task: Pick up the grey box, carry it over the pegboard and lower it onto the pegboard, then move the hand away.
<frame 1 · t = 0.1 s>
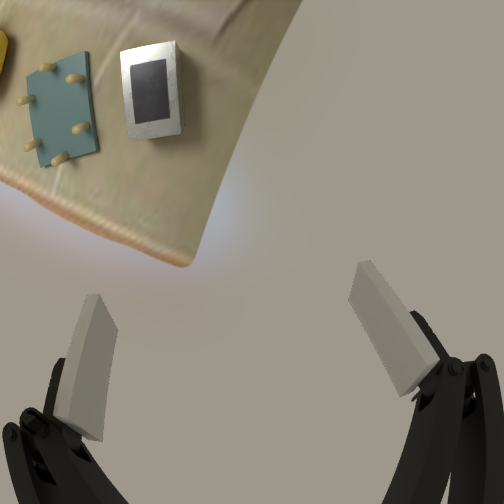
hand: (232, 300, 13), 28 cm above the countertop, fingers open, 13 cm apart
grey box: (159, 90, 29), on the countertop
pegboard: (61, 109, 27), on the countertop
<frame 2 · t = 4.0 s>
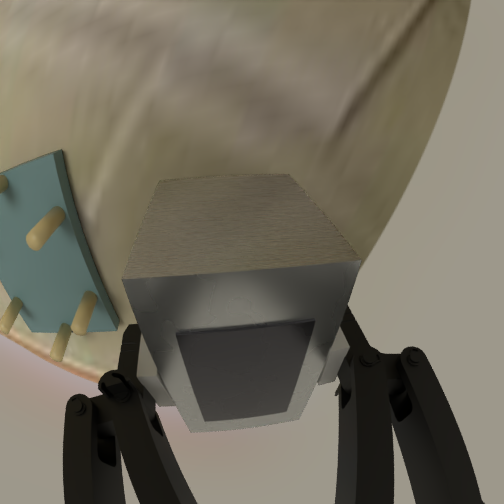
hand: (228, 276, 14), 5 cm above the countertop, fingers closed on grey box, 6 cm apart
grey box: (227, 272, 15), point 4 cm above the countertop, touching gripper
pegboard: (38, 256, 16), on the countertop
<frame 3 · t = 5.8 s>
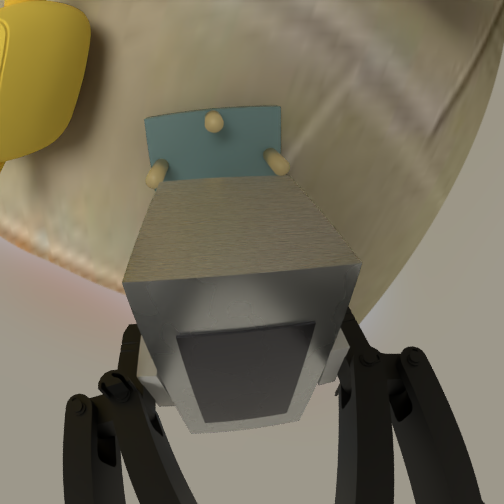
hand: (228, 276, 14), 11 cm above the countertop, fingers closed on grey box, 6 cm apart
grey box: (227, 273, 15), point 10 cm above the countertop, touching gripper
teapot: (40, 68, 13), on the countertop
pegboard: (218, 193, 23), on the countertop
when the fingers open (2 cm above the countertop, at t = 7.4 s): grey box stays where it is, resting on pegboard.
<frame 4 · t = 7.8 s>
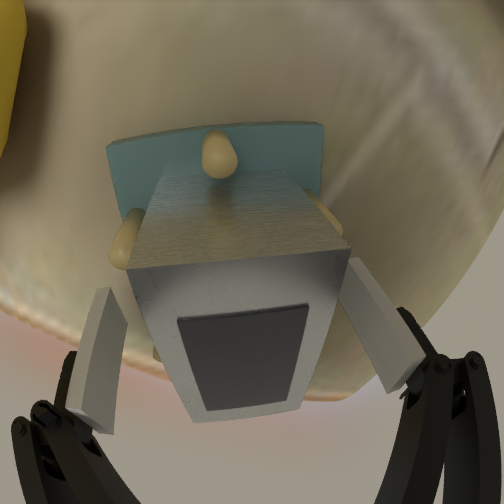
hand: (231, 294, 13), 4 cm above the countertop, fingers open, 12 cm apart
grey box: (227, 265, 16), point 1 cm above the countertop, touching pegboard
pegboard: (224, 251, 16), on the countertop
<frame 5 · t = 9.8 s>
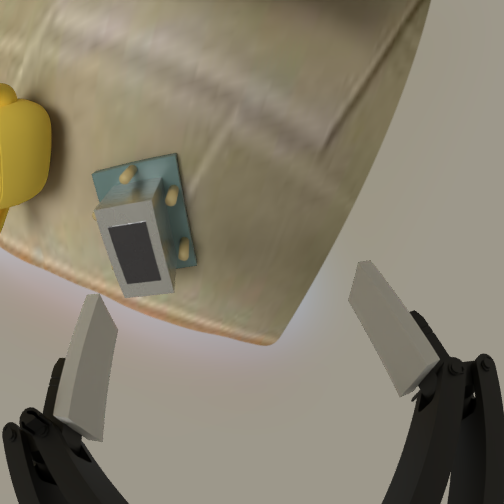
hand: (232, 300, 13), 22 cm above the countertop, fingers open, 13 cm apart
grey box: (145, 223, 31), point 1 cm above the countertop, touching pegboard
teapot: (24, 138, 23), on the countertop
pegboard: (146, 218, 32), on the countertop
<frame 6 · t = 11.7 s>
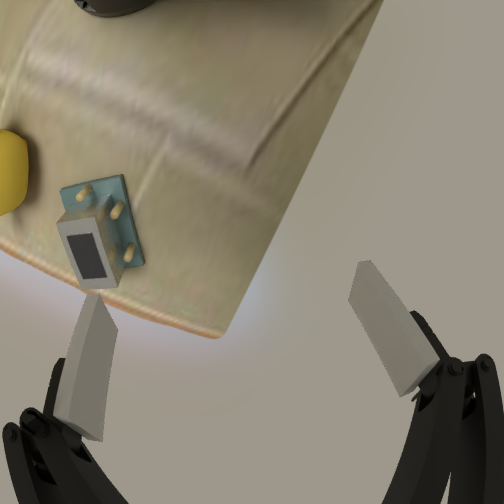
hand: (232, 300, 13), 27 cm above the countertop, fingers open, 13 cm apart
grey box: (101, 230, 36), point 1 cm above the countertop, touching pegboard
teapot: (9, 158, 27), on the countertop
pegboard: (103, 225, 37), on the countertop
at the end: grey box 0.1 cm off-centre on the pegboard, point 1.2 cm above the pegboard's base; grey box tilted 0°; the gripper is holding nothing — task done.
